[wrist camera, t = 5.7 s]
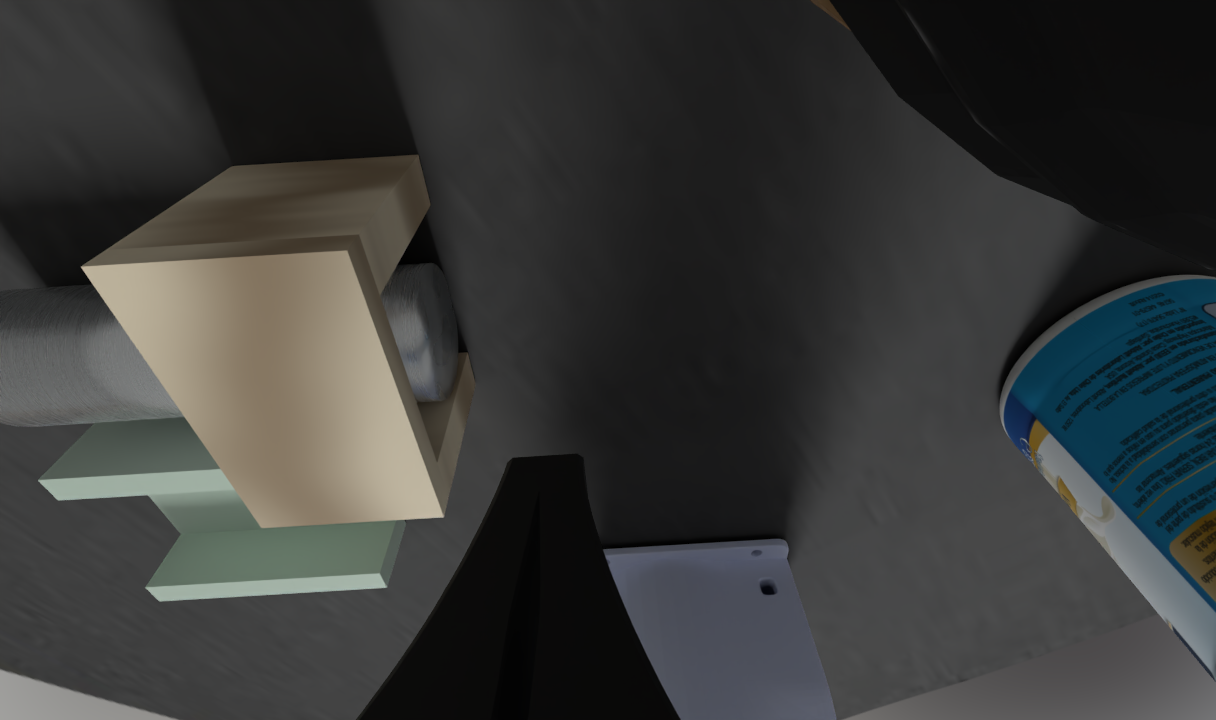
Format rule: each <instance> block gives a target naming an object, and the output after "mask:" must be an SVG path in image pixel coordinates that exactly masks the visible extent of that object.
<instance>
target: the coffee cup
mask: <svg viewBox="0 0 1216 720" xmlns="http://www.w3.org/2000/svg"><path fill="white" fill-rule="evenodd" d="M810 1H811V2H813V3H814V4H815V5H817V6H818V7H819V8H821V9H822V10H823V11H825V12H826V13H827V14H829V15H830V16H831V17H833V18H834V19H835V20H837V21H838V22H840V23H841V24H842V25H844V26H845V27H846V28H848V29H849V30H850V31H852V33H853V34H854V35H855V37H856V38H857V40H858V41H859V42H860V44H861V45H862V47H863V48H864V49H865V51H866V52H867V53H868V55H869V56H870V58H871V59H872V60H873V62H874V63H875V65H876V66H877V67H878V69H879V70H880V71H881V73H882V74H883V76H884V77H885V78H886V80H887V81H888V83H889V84H890V85H891V87H892V88H893V89H894V91H895V92H896V94H897V95H898V96H899V97H900V98H901V99H903V100H904V101H905V102H906V103H908V104H909V105H910V106H911V107H913V108H914V109H915V110H916V111H918V112H919V113H920V114H921V115H923V116H924V117H925V118H926V119H928V120H929V121H930V122H931V123H932V124H934V125H935V126H936V127H937V128H939V129H940V130H941V131H942V132H944V133H945V134H946V135H947V136H949V137H950V138H951V139H952V140H954V141H955V142H956V143H957V144H959V145H960V146H961V147H962V148H964V149H965V150H966V151H967V152H969V153H970V154H971V155H972V156H974V157H975V158H976V159H977V160H979V161H980V162H981V163H982V164H984V165H985V166H986V167H987V168H989V169H990V170H991V171H992V172H994V173H995V174H996V175H998V176H1000V177H1003V178H1005V179H1008V180H1010V181H1012V182H1015V183H1017V184H1020V185H1022V186H1025V187H1027V188H1030V189H1032V190H1035V191H1037V192H1040V193H1042V194H1045V195H1047V196H1050V197H1052V198H1054V199H1057V200H1059V201H1062V202H1064V203H1067V204H1069V205H1072V206H1073V207H1074V208H1076V209H1077V210H1078V211H1079V212H1080V213H1081V214H1083V215H1085V216H1087V217H1089V218H1091V219H1092V220H1095V221H1097V222H1099V223H1102V224H1104V225H1107V226H1109V227H1111V228H1114V229H1116V230H1118V231H1121V232H1123V233H1125V234H1128V235H1130V236H1132V237H1135V238H1137V239H1139V240H1142V241H1144V242H1146V243H1149V244H1151V245H1153V246H1156V247H1158V248H1160V249H1163V250H1165V251H1167V252H1170V253H1172V254H1174V255H1177V256H1179V257H1181V258H1184V259H1186V260H1188V261H1191V262H1193V263H1195V264H1198V265H1200V266H1202V267H1205V268H1207V269H1210V270H1216V0H810Z"/></svg>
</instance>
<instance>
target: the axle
mask: <svg viewBox="0 0 1216 720" xmlns="http://www.w3.org/2000/svg"><path fill="white" fill-rule="evenodd" d="M380 297H381V300H382V303H383V306H384V309H385V312H386V315H387V318H388V321H389V324H390V327H391V329H392V332H393V335H394V338H395V341H396V344H397V347H398V350H399V353H400V356H401V359H402V362H403V365H404V367H405V370H406V373H407V376H408V379H409V382H410V385H411V388H412V391H413V394H414V397H415V400H416V402H431V401H444V400H446V399H447V398H448V397H449V396H450V394H451V392H452V390H453V387H454V384H455V380H456V374H457V366H458V331H457V322H456V318H455V314H454V310H453V306H452V302H451V298H450V295H449V291H448V287H447V283H446V279H445V276H444V274H443V272H442V271H441V269H440V268H439V267H438V266H437V265H436V264H434V263H423V264H407V265H397V266H396V268H395V270H394V272H393V273H392V275H391V277H390V279H389V281H388V282H387V284H386V286H385V288H384V290H383V291H382V293H381V295H380ZM178 417H184V415H183V414H182V413H181V411H180V410H179V408H178V407H177V405H176V404H175V402H174V401H173V400H172V398H171V397H170V395H169V394H168V392H167V391H166V389H165V388H164V387H163V385H162V384H161V382H160V381H159V379H158V378H157V376H156V375H155V374H154V372H153V371H152V369H151V368H150V366H149V365H148V363H147V362H146V361H145V359H144V358H143V356H142V355H141V353H140V352H139V350H138V349H137V348H136V346H135V345H134V343H133V342H132V340H131V339H130V337H129V336H128V335H127V333H126V332H125V330H124V329H123V327H122V326H121V324H120V323H119V322H118V320H117V319H116V317H115V316H114V314H113V313H112V311H111V310H110V309H109V307H108V306H107V304H106V303H105V301H104V300H103V298H102V297H101V296H100V294H99V293H98V291H97V290H96V288H95V287H94V285H77V286H61V287H45V288H30V289H14V290H5V291H0V423H4V424H7V425H12V426H19V427H36V426H51V425H67V424H83V423H99V422H115V421H131V420H146V419H162V418H178Z"/></svg>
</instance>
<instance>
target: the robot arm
mask: <svg viewBox="0 0 1216 720" xmlns="http://www.w3.org/2000/svg"><path fill="white" fill-rule="evenodd" d="M788 552H789V548H788V545H787V542H786V541H785V540H782V539H764V540H748V541H731V542H714V543H698V544H681V545H665V546H648V547H632V548H615V549H603V548H602V545H601V542H600V539H599V536H598V533H597V530H596V527H595V523H594V520H593V516H592V512H591V508H590V504H589V500H588V493H587V485H586V476H585V467H584V459H583V457H581V456H580V455H578V454H566V455H550V456H534V457H518V458H512V459H511V460H510V461H509V462H508V463H507V466H506V469H505V471H504V474H503V476H502V479H501V481H500V484H499V486H498V488H497V491H496V493H495V495H494V498H493V500H492V502H491V504H490V506H489V508H488V510H487V513H486V515H485V517H484V519H483V521H482V523H481V525H480V527H479V529H478V531H477V533H476V535H475V536H474V538H473V540H472V542H471V544H470V546H469V548H468V550H467V552H466V554H465V556H464V558H463V559H462V561H461V563H460V565H459V567H458V568H457V570H456V572H455V574H454V575H453V577H452V579H451V580H450V582H449V584H448V585H447V587H446V589H445V590H444V592H443V594H442V596H441V597H440V599H439V601H438V602H437V604H436V606H435V607H434V609H433V611H432V612H431V614H430V615H429V617H428V619H427V620H426V622H425V623H424V625H423V626H422V628H421V630H420V631H419V633H418V634H417V636H416V637H415V639H414V640H413V642H412V643H411V645H410V646H409V648H408V649H407V650H406V652H405V653H404V655H403V656H402V658H401V659H400V661H399V662H398V664H397V665H396V666H395V668H394V669H393V671H392V672H391V673H390V675H389V676H388V678H387V679H386V680H385V682H384V683H383V684H382V686H381V687H380V688H379V690H378V691H377V692H376V694H375V695H374V696H373V698H372V699H371V701H370V702H369V703H368V705H367V706H366V707H365V709H364V710H363V711H362V713H361V714H360V715H359V717H358V718H357V719H356V720H836V715H835V710H834V706H833V701H832V698H831V694H830V690H829V687H828V683H827V680H826V677H825V674H824V671H823V668H822V664H821V661H820V658H819V655H818V652H817V649H816V646H815V643H814V640H813V637H812V634H811V631H810V628H809V625H808V622H807V619H806V615H805V612H804V609H803V606H802V603H801V600H800V597H799V594H798V591H797V588H796V585H795V582H794V579H793V576H792V573H791V570H790V566H789V563H788V560H787V556H788Z"/></svg>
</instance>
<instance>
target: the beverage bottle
mask: <svg viewBox="0 0 1216 720" xmlns="http://www.w3.org/2000/svg"><path fill="white" fill-rule="evenodd" d="M999 408H1000V418H1001V422H1002V425H1003V427H1004V430H1005V431H1006V433H1007V435H1008V436H1009V438H1010V439H1011V440H1012V441H1013V443H1014V444H1015V445H1016V446H1017V447H1018V449H1019V450H1020V451H1021V452H1022V453H1023V454H1024V455H1025V456H1026V457H1027V458H1028V459H1029V460H1030V461H1031V462H1032V463H1033V464H1034V465H1035V467H1036V468H1037V469H1038V470H1039V471H1040V473H1041V474H1042V475H1043V476H1044V477H1045V479H1046V480H1047V481H1048V482H1049V483H1050V484H1051V486H1052V487H1053V488H1054V489H1055V490H1056V491H1057V493H1058V494H1059V495H1060V496H1061V497H1062V499H1063V500H1064V501H1065V502H1066V503H1067V504H1068V506H1069V507H1070V508H1071V509H1072V510H1073V512H1074V513H1075V514H1076V515H1077V516H1078V518H1079V519H1080V520H1081V521H1082V522H1083V524H1084V525H1085V526H1086V527H1087V528H1088V530H1089V531H1090V532H1091V533H1092V534H1093V536H1094V537H1095V538H1096V539H1097V540H1098V542H1099V543H1100V544H1101V545H1102V546H1103V547H1104V549H1105V550H1106V551H1107V552H1108V553H1109V555H1110V556H1111V557H1112V558H1113V559H1114V561H1115V562H1116V563H1117V564H1118V565H1119V567H1120V568H1121V569H1122V570H1123V571H1124V573H1125V574H1126V575H1127V576H1128V577H1129V579H1130V580H1131V581H1132V582H1133V583H1134V585H1135V586H1136V587H1137V588H1138V589H1139V591H1140V592H1141V593H1142V594H1143V595H1144V597H1145V598H1146V599H1147V600H1148V601H1149V603H1150V604H1151V605H1152V606H1153V607H1154V609H1155V610H1156V611H1157V612H1158V613H1159V615H1160V616H1161V617H1162V618H1163V619H1164V620H1165V622H1166V623H1167V624H1168V625H1169V627H1170V628H1171V629H1172V630H1173V631H1174V633H1175V634H1176V635H1177V636H1178V637H1179V639H1180V640H1181V641H1182V642H1183V643H1184V645H1185V646H1186V647H1187V648H1188V649H1189V651H1190V652H1191V653H1192V654H1193V655H1194V657H1195V658H1196V659H1197V660H1198V661H1199V663H1200V664H1201V665H1202V666H1203V667H1204V669H1205V670H1206V671H1207V672H1208V673H1209V675H1210V676H1211V677H1212V678H1213V679H1214V681H1215V682H1216V277H1211V276H1204V275H1173V276H1165V277H1158V278H1153V279H1148V280H1144V281H1140V282H1137V283H1133V284H1130V285H1127V286H1124V287H1121V288H1119V289H1116V290H1113V291H1111V292H1109V293H1106V294H1104V295H1102V296H1100V297H1097V298H1095V299H1093V300H1091V301H1089V302H1088V303H1086V304H1084V305H1082V306H1080V307H1079V308H1077V309H1075V310H1074V311H1072V312H1071V313H1069V314H1067V315H1066V316H1064V317H1063V318H1062V319H1060V320H1059V321H1057V322H1056V323H1055V324H1053V325H1052V326H1051V327H1050V328H1048V329H1047V330H1046V331H1045V332H1044V333H1043V334H1041V335H1040V336H1039V337H1038V338H1037V339H1036V340H1035V341H1034V342H1033V343H1032V344H1031V345H1030V346H1029V347H1028V348H1027V349H1026V351H1025V352H1024V353H1023V354H1022V355H1021V357H1020V358H1019V359H1018V361H1017V362H1016V363H1015V365H1014V366H1013V368H1012V370H1011V371H1010V373H1009V375H1008V377H1007V379H1006V381H1005V384H1004V386H1003V389H1002V393H1001V397H1000V407H999Z"/></svg>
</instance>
